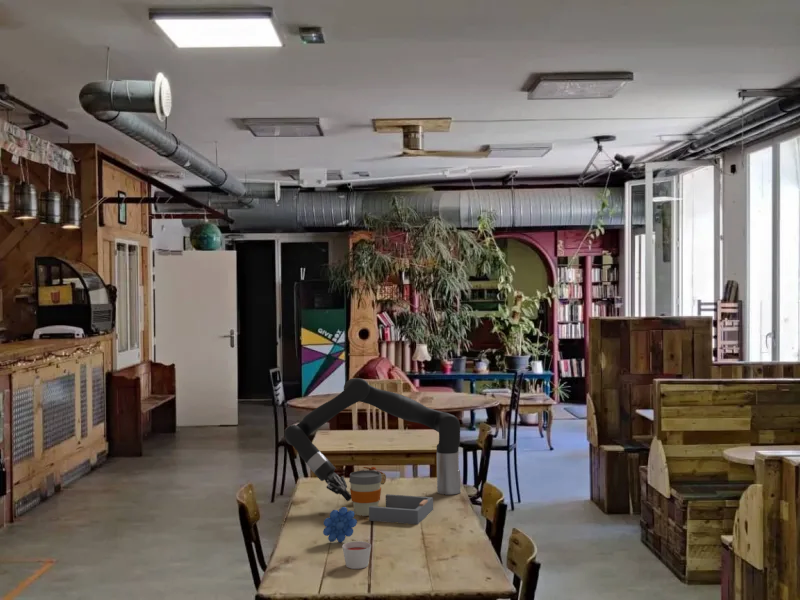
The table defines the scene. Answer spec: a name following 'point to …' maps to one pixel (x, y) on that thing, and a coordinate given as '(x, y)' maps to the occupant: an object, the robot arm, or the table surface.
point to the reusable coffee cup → (365, 490)
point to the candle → (356, 554)
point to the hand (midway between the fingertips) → (350, 499)
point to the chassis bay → (402, 509)
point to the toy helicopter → (380, 472)
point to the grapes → (339, 525)
